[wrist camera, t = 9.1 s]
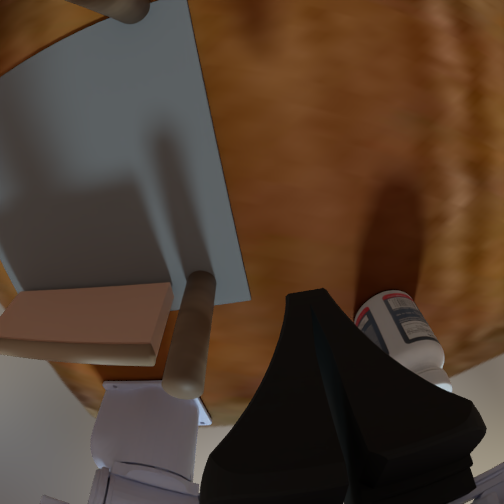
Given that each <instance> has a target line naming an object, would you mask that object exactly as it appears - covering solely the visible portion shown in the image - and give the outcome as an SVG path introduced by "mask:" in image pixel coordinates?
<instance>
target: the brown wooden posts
mask: <svg viewBox="0 0 504 504" xmlns="http://www.w3.org/2000/svg"><path fill="white" fill-rule="evenodd" d="M65 1H68V2H71V3H74V4H77V5H79V6H82V7H85V8H88V9H90V10H93V11H95V12H98V13H100V14H103V15H105V16H108V17H110V18H113V19H115V20H117V21H120V22H122V23H124V24H135V23H137V22H139V21H141V20H142V19H144V18H145V17H146V15H147V14H148V12H149V9H150V3H151V2H150V0H65ZM216 285H217V283H216V279H215V277H214V276H213V275H212V274H210V273H209V272H206V271H201V270H200V271H195V272H193V273H191V274H190V275H189V277H188V279H187V283H186V286H185V290H184V294H183V297H182V301H181V305H180V309H179V313H178V317H177V321H176V324H175V328H174V332H173V336H172V341H171V345H170V349H169V353H168V357H167V361H166V366H165V370H164V374H163V379H162V383H161V385H162V388H163V389H164V391H165V392H166V393H168V394H169V395H171V396H173V397H176V398H179V399H186V400H189V399H195V398H198V397H200V396H201V395H202V394H203V390H204V381H205V373H206V364H207V355H208V347H209V339H210V331H211V323H212V315H213V307H214V300H215V292H216Z"/></svg>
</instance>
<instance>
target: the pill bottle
mask: <svg viewBox="0 0 504 504" xmlns="http://www.w3.org/2000/svg"><path fill="white" fill-rule="evenodd" d="M354 324H355V325H356V326H357V327H358V328H359V329H360V330H361V331H362V332H363V333H364V334H365V335H366V336H367V337H368V338H369V339H370V340H371V341H373V342H374V343H375V344H376V345H377V346H378V347H379V348H381V349H382V350H383V351H384V352H386V353H387V354H388V355H389V356H391V357H392V358H393V359H395V360H396V361H397V362H399V363H400V364H402V365H403V366H404V367H406V368H407V369H409V370H411V371H412V372H414V373H416V374H417V375H419V376H420V377H422V378H424V379H425V380H427V381H429V382H430V383H432V384H434V385H436V386H438V387H440V388H442V389H444V390H446V391H449V392H452V385H451V382H450V380H449V378H448V376H447V373H446V372H445V371H444V370H443V369H442V367H443V364H444V352H443V349H442V347H441V345H440V343H439V342H438V340H437V338H436V337H435V335H434V333H433V332H432V330H431V328H430V327H429V325H428V323H427V322H426V320H425V319H424V317H423V315H422V314H421V312H420V311H419V309H418V307H417V306H416V304H415V303H414V301H413V300H412V298H411V297H410V296H409V295H408V294H407V293H405V292H402V291H399V290H389V291H385V292H381V293H379V294H377V295H375V296H373V297H372V298H370V299H369V300H368V301H366V302H365V303H364V304H363V305H362V306H361V308H360V309H359V311H358V312H357V314H356V317H355V321H354Z"/></svg>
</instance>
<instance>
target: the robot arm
mask: <svg viewBox="0 0 504 504" xmlns="http://www.w3.org/2000/svg"><path fill="white" fill-rule="evenodd" d="M161 383H162V380H154V381H104V382H103V387H104V388H105V389H106V392H105V395H104V397H103V400H102V403H101V406H100V409H99V412H98V415H97V418H96V422H95V425H94V428H93V431H92V435H91V453H92V457H93V459H94V462H95V463H96V465H97V466H98V468H99V469H97V470H96V472H95V476H94V479H93V483H92V487H91V492H90V496H89V500H88V504H343V503H344V504H464V503H466V502H468V501H471V500H473V499H474V501H473V503H471V504H504V462H503V463H501V464H499V465H497V466H496V467H494V468H492V469H490V470H488V471H486V472H484V473H482V474H480V475H478V476H477V477H474V478H473V475H472V472H471V469H470V467H471V466H472V465H473V462H472V459H471V456H470V453H471V452H472V451H473V450H474V448H475V447H476V446H477V445H478V444H479V443H480V442H481V440H482V439H483V437H484V436H485V433H486V429H487V428H486V426H485V424H484V422H483V419H482V417H481V415H480V413H479V412H478V410H477V409H476V407H475V406H474V404H473V403H472V401H470V400H468V399H466V398H463V397H461V396H458V395H456V394H454V393H451V392H449V391H446V390H444V389H442V388H440V387H438V386H436V385H434V384H432V383H430V382H429V381H427V380H425V379H424V378H422V377H420V376H419V375H417V374H416V373H414V372H412V371H411V370H409V369H407V368H406V367H404V366H403V365H402V364H400V363H399V362H397V361H396V360H395V359H393V358H392V357H391V356H389V355H388V354H387V353H386V352H384V351H383V350H382V349H381V348H379V347H378V346H377V345H376V344H375V343H374V342H373V341H371V340H370V339H369V338H368V337H367V336H366V335H365V334H364V333H363V332H362V331H361V330H360V329H359V328H358V327H357V326H356V325H355V324H354V323H353V322H352V321H351V320H350V319H349V317H348V316H347V315H346V314H345V313H344V312H343V311H342V310H341V308H340V307H339V306H338V305H337V304H336V302H335V301H334V300H333V299H332V297H331V296H330V294H329V293H328V292H327V290H325V289H324V288H321V289H315V290H309V291H303V292H297V293H291V294H288V295H287V296H286V308H285V315H284V321H283V325H282V329H281V333H280V337H279V340H278V343H277V346H276V349H275V352H274V354H273V357H272V360H271V362H270V365H269V367H268V369H267V372H266V374H265V376H264V378H263V380H262V382H261V384H260V386H259V387H258V389H257V391H256V393H255V395H254V397H253V398H252V400H251V402H250V403H249V405H248V406H247V408H246V409H245V411H244V412H243V414H242V415H241V417H240V418H239V419H238V421H237V422H236V424H235V425H234V426H233V428H232V429H231V430H230V432H229V433H228V434H227V435H226V436H225V438H224V439H223V440H222V441H221V442H220V443H219V445H218V446H217V447H216V448H215V449H214V450H213V451H212V452H211V454H210V455H209V458H208V460H207V463H206V466H205V469H204V472H203V476H202V481H201V487H200V493H198V491H199V484H196V483H193V474H194V463H195V453H196V443H197V431H198V425H210V424H212V420H211V418H210V416H209V414H208V412H207V411H206V409H205V407H204V405H203V403H202V401H201V400H200V398H199V397H198V398H195V399H189V400H186V399H179V398H176V397H173V396H171V395H169V394H168V393H166V392H165V391H164V389H163V388H162V385H161ZM40 504H69V503H66V502H63V501H60V500H57V499H54V498H51V497H49V496H46V495H43V496H42V497H41V501H40Z"/></svg>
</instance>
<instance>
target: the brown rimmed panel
mask: <svg viewBox="0 0 504 504" xmlns="http://www.w3.org/2000/svg"><path fill="white" fill-rule="evenodd" d="M173 299H174V294H173V291H172V287H171V284H170V282H165V283H152V284H138V285H123V286H108V287H92V288H75V289H57V290H38V291H20V292H19V294H18V295H17V296H16V297H15V298H14V300H13V301H12V302H11V304H10V305H9V306H8V307H7V309H6V310H5V311H4V313H3V314H2V315H1V316H0V354H1V355H7V356H14V357H23V358H31V359H38V360H47V361H58V362H69V363H82V364H99V365H121V366H154V365H155V362H156V357H157V355H158V351H159V348H160V344H161V340H162V337H163V333H164V330H165V326H166V323H167V319H168V316H169V312H170V309H171V305H172V302H173Z"/></svg>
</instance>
